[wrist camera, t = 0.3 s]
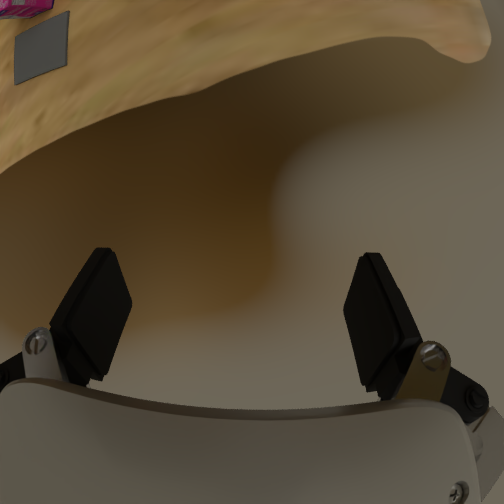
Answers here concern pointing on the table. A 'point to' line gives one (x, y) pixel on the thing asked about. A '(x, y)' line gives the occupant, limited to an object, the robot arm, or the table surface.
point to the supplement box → (23, 8)
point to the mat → (41, 48)
